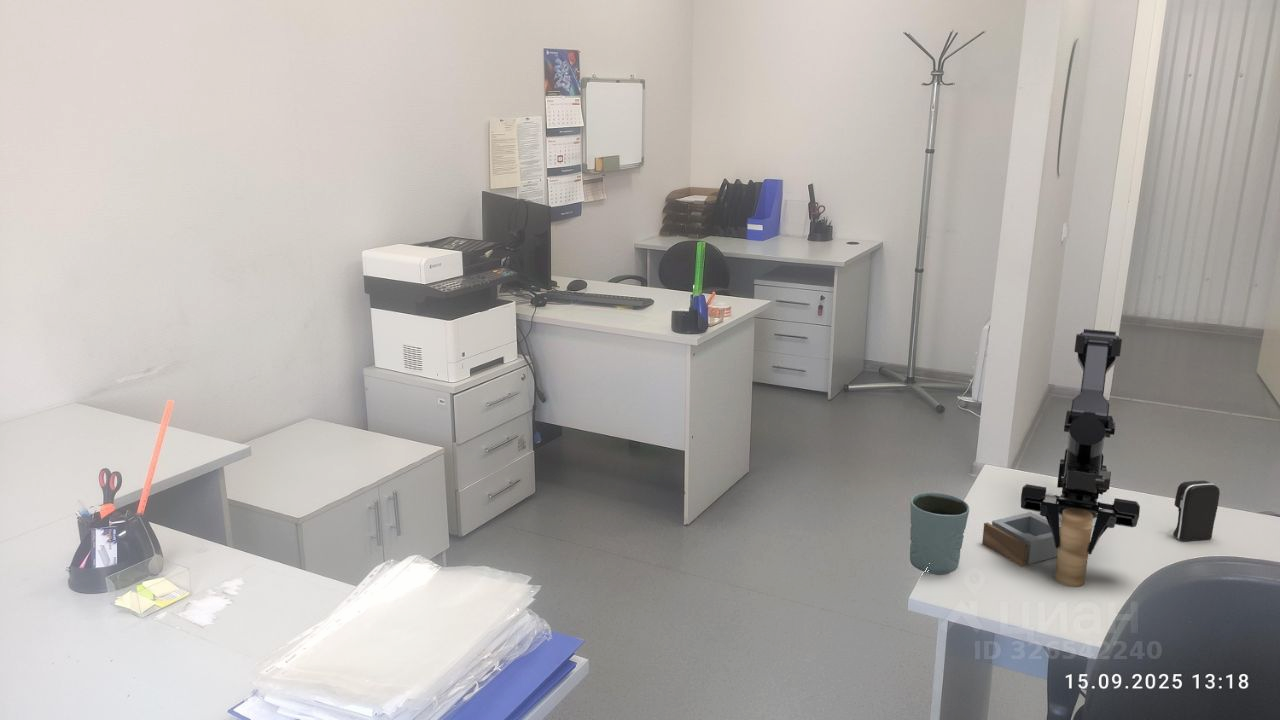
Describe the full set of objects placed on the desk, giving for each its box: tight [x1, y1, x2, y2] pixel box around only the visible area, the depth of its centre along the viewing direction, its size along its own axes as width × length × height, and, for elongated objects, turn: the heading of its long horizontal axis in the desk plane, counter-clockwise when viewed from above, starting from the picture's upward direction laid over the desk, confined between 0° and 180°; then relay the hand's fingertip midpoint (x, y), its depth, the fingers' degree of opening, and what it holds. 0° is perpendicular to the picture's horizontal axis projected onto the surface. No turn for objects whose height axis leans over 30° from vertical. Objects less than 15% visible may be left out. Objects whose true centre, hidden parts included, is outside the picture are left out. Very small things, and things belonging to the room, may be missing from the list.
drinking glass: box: [909, 492, 970, 575], centre depth 163 cm, size 10×10×12 cm
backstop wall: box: [981, 522, 1028, 568], centre depth 166 cm, size 1×10×4 cm, turn 23°
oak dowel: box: [1054, 508, 1093, 588], centre depth 156 cm, size 5×5×13 cm
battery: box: [1173, 480, 1221, 542], centre depth 172 cm, size 7×4×11 cm, turn 98°
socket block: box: [991, 511, 1061, 565], centre depth 168 cm, size 10×10×4 cm
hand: (1073, 550), depth 154 cm, fingers closed on oak dowel, 5 cm apart
